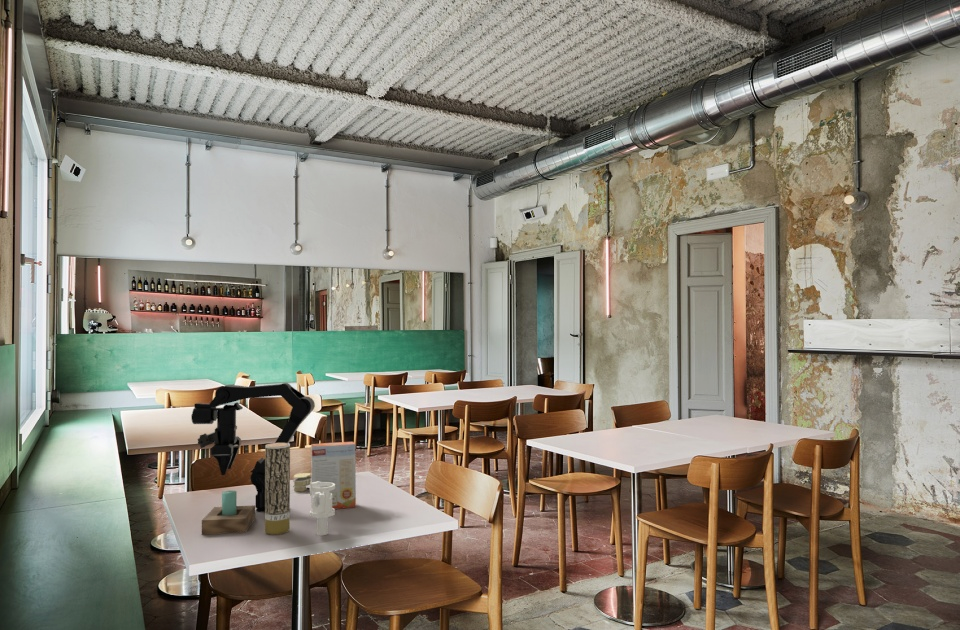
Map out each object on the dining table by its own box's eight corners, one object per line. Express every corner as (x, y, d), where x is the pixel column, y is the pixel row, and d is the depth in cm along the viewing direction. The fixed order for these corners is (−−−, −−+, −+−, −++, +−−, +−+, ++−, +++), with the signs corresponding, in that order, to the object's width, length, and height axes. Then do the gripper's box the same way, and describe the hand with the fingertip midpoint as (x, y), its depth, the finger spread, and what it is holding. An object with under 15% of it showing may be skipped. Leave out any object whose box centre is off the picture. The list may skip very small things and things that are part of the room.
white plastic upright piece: (305, 533, 185) (305, 480, 185) (328, 528, 189) (328, 477, 189) (315, 539, 179) (315, 485, 179) (339, 534, 183) (339, 481, 184)
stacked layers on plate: (310, 493, 231) (310, 478, 231) (285, 493, 232) (285, 478, 232) (318, 487, 241) (318, 472, 241) (294, 486, 242) (294, 472, 242)
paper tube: (260, 531, 186) (261, 444, 187) (282, 526, 191) (282, 441, 191) (271, 537, 181) (272, 447, 182) (293, 531, 186) (294, 444, 187)
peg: (237, 523, 194) (237, 490, 194) (234, 527, 190) (234, 493, 190) (223, 524, 193) (223, 490, 194) (220, 528, 190) (220, 494, 190)
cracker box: (353, 503, 217) (353, 440, 217) (356, 507, 211) (356, 443, 212) (310, 506, 213) (311, 443, 213) (311, 511, 207) (312, 446, 207)
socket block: (255, 518, 200) (255, 505, 200) (245, 532, 186) (245, 518, 186) (214, 520, 198) (214, 507, 198) (201, 534, 184) (201, 520, 184)
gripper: (206, 420, 218) (206, 467, 218) (193, 428, 200) (192, 479, 199) (241, 419, 220) (240, 465, 220) (231, 427, 202) (230, 478, 202)
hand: (226, 472), depth 210 cm, fingers open, 9 cm apart
